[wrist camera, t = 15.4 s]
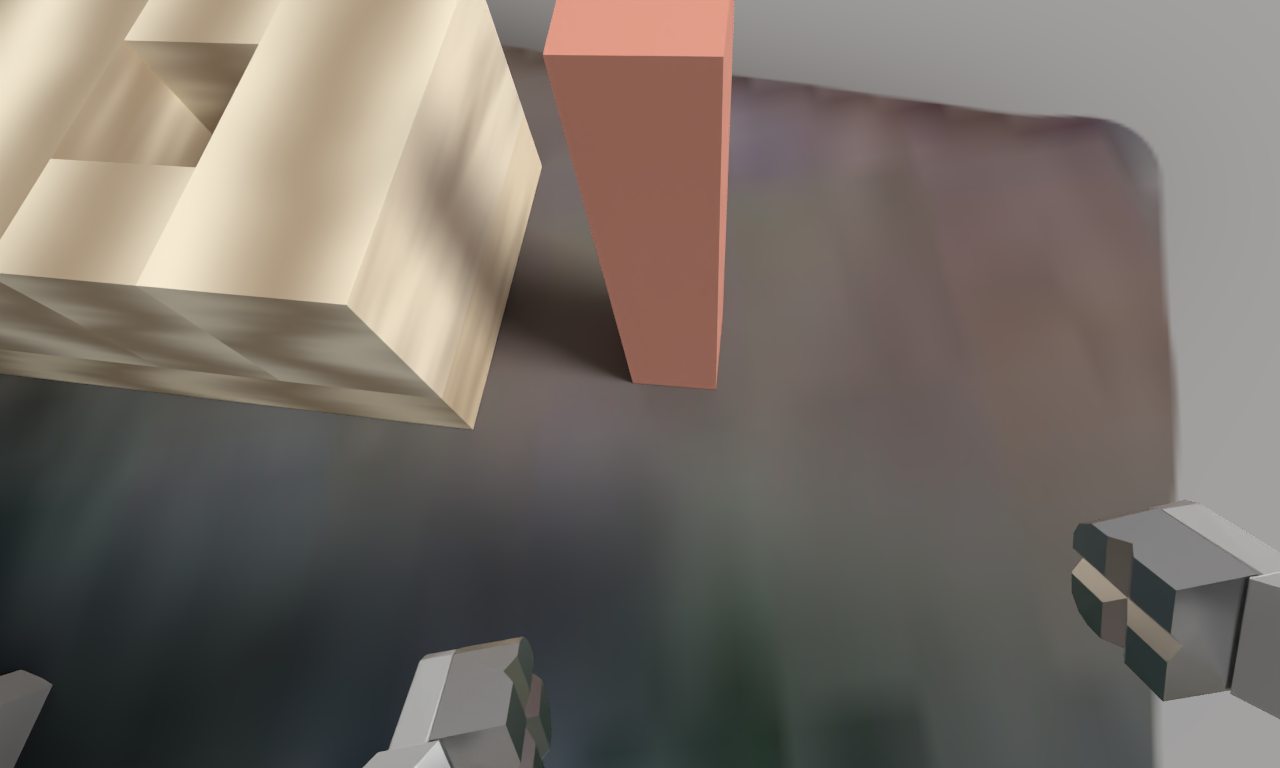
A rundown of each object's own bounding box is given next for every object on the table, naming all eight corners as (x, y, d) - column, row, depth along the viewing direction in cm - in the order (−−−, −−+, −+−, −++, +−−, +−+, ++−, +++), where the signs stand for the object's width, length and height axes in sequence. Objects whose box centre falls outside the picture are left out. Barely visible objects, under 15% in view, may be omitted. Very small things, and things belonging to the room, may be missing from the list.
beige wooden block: (-74, 364, 27) (-415, 235, 19) (69, 134, 32) (-155, -51, 24) (472, 429, 24) (346, 304, 15) (543, 159, 28) (475, -49, 20)
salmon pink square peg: (632, 383, 24) (542, 54, 11) (643, 310, 25) (572, -65, 12) (715, 389, 23) (723, 56, 10) (722, 316, 24) (736, -66, 12)
